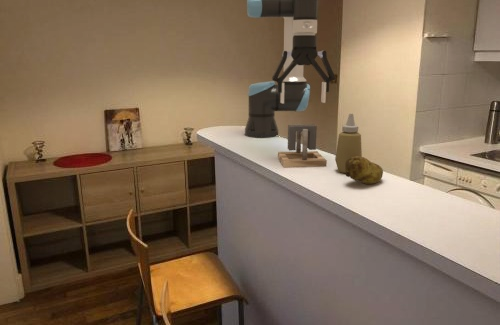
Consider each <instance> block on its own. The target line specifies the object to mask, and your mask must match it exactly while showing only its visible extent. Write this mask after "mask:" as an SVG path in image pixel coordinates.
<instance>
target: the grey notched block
mask: <svg viewBox="0 0 500 325" xmlns="http://www.w3.org/2000/svg"><path fill="white" fill-rule="evenodd" d="M303 129H308V144H307V150H308V151H315V150H316V149H317V125H316V124H302V125H297V124H288V125H287V150H288V152H292V151H296V138H297V131H303ZM316 151H317V150H316Z"/></svg>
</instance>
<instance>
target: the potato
mask: <svg viewBox="0 0 500 325" xmlns="http://www.w3.org/2000/svg"><path fill="white" fill-rule="evenodd" d="M345 171H346V173H345V176H346V177H348V178H350V179H352V180H353V181H356V182H360V183H363V184H364V185H365V184H366V185H372V184H376V183H378V182H380V181H381V180H382V178H383V174H384V169H383V168H382V167H381V166H380V165H379V164H377V163H374V162H371V161H370V160H369V159H368V158H365V157H363V156H362V157H359V156H356V157H355V156H354V157H352V158H350V159H348V160H347V161H346V163H345Z"/></svg>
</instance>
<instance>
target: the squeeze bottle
mask: <svg viewBox="0 0 500 325" xmlns="http://www.w3.org/2000/svg"><path fill="white" fill-rule="evenodd" d="M335 151H336V152H335V157H334V158H335V159H334V161H335V164H336V169H337V171H338V172H339V173H343V174H346V171H345V163H346V161H347V160H348V159H350V158H352V157H354V156H355V157H356V156H359V157H363V153H362V152H363V151H362V134H361V133H359V125H357V124H356V123H355V117H354V114H353V113H349V114H348V116H347V120H346V124H344V125H342V131H341V132H340V133H339V134H338V138H337V145H336V150H335Z"/></svg>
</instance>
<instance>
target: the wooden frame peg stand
mask: <svg viewBox="0 0 500 325" xmlns="http://www.w3.org/2000/svg"><path fill="white" fill-rule="evenodd" d="M296 125H303V124H301V123H297V124H296ZM307 144H308V129H303V131H296V150H295V151H278V152H277V158H278V160H279V162H280V163H281V165H282V167H283V169H284V168H309V167H311V168H313V167H314V168H315V167H327V164H328V163H327V161H328V160H327V159H326V158H325V157H324V156H323V155H322V154H321V153H320V152H318V151H317V150H316V151H315V150H308V148H307Z"/></svg>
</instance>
